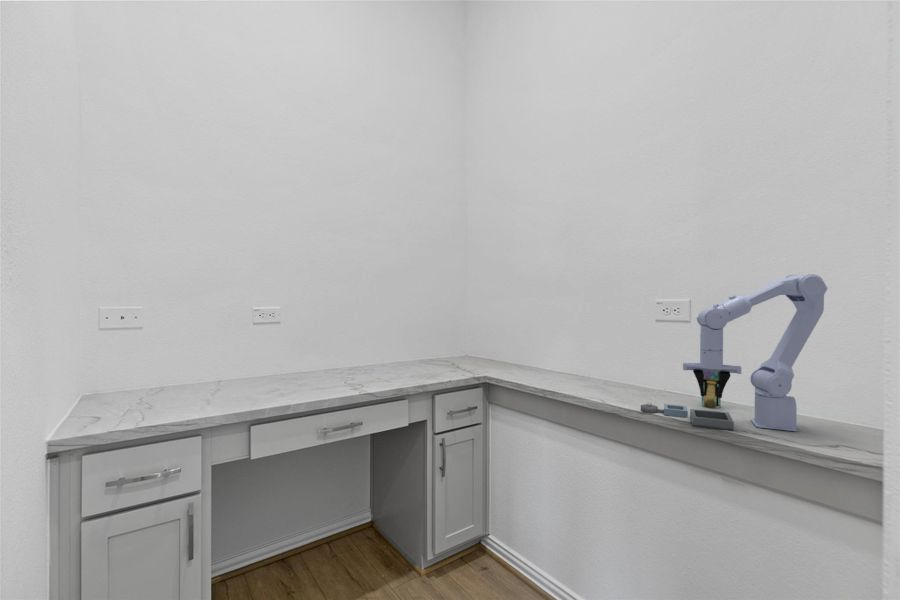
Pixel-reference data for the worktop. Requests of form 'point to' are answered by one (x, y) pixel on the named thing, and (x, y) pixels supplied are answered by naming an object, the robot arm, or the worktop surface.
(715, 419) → the tray
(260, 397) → the worktop surface
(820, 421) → the worktop surface
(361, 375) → the worktop surface
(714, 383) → the pin
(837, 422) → the worktop surface
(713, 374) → the spray can
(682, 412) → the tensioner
